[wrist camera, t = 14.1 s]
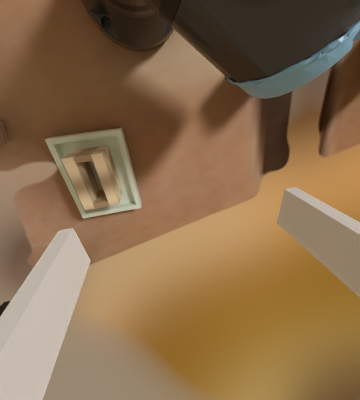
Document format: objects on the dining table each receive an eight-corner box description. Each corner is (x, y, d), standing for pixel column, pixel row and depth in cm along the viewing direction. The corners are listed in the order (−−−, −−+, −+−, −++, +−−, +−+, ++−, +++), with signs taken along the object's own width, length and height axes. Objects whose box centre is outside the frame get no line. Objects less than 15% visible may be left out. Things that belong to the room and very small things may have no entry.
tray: (51, 137, 32) (44, 139, 30) (122, 127, 33) (120, 129, 31) (86, 212, 40) (82, 218, 38) (141, 202, 42) (141, 207, 39)
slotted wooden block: (74, 150, 33) (61, 158, 28) (108, 145, 33) (101, 152, 28) (95, 202, 39) (88, 217, 33) (124, 197, 39) (121, 211, 34)
